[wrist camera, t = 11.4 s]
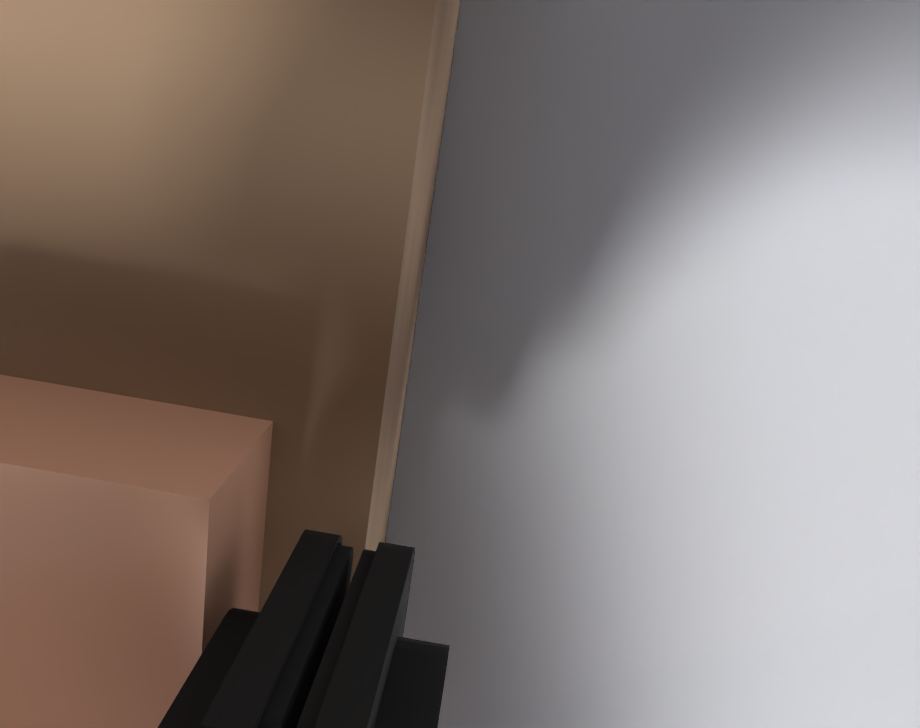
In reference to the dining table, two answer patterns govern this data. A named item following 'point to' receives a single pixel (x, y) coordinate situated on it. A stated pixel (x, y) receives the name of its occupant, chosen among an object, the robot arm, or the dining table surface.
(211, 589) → the tile
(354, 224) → the board
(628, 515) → the dining table surface
